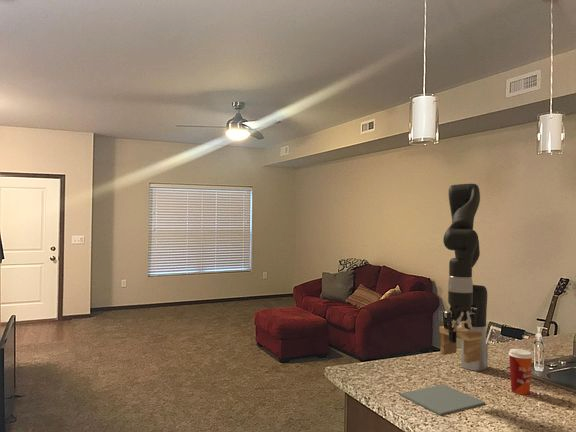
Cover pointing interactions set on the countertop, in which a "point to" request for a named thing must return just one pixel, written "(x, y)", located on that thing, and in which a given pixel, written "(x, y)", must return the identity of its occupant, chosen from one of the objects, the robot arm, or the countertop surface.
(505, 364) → the countertop surface
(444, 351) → the tan wooden block
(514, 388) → the paper cup
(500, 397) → the countertop surface
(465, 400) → the mat
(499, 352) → the countertop surface
